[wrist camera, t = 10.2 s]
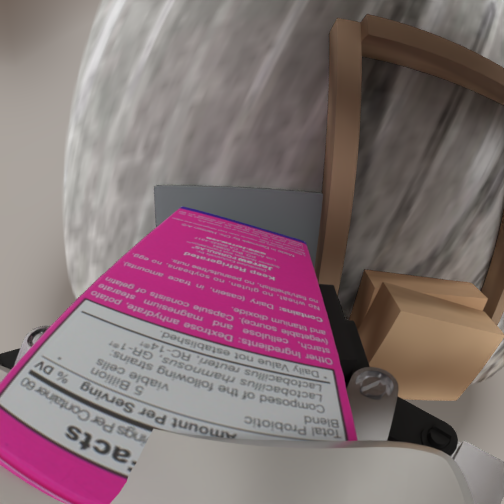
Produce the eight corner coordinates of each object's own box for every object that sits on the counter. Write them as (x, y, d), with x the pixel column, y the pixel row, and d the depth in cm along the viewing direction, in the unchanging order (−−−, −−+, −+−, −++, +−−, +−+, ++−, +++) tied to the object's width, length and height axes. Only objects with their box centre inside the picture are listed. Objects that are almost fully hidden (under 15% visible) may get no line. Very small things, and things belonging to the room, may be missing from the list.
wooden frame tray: (329, 33, 10) (341, 9, 7) (521, 100, 9) (552, 101, 7) (296, 368, 17) (297, 404, 15) (459, 361, 16) (474, 387, 14)
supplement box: (272, 342, 14) (255, 574, 4) (161, 309, 14) (51, 512, 4) (314, 239, 12) (384, 557, 2) (179, 200, 12) (-56, 414, 1)
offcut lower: (362, 265, 15) (375, 287, 13) (468, 279, 15) (487, 298, 12) (339, 338, 17) (346, 366, 14) (440, 342, 16) (454, 364, 14)
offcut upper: (382, 281, 12) (401, 310, 10) (484, 311, 13) (505, 335, 10) (340, 359, 14) (347, 393, 12) (442, 373, 14) (456, 400, 12)
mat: (157, 185, 14) (154, 186, 13) (321, 192, 13) (323, 194, 13) (168, 320, 17) (166, 323, 16) (302, 332, 16) (303, 336, 16)
